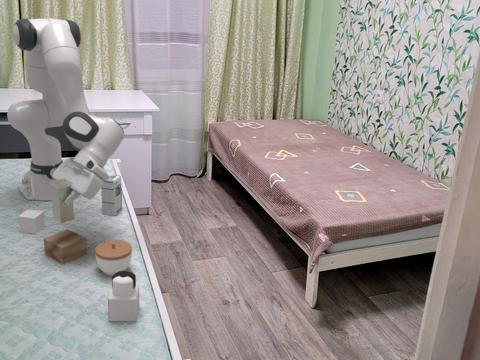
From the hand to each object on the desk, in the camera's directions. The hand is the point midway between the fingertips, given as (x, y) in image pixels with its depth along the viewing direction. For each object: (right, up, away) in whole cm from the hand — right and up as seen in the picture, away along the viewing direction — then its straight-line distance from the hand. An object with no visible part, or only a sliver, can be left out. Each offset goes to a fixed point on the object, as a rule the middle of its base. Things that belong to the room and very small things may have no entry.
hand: (60, 200), depth 150 cm
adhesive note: (-18, -11, +22) cm, 30 cm away
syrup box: (+6, -6, +39) cm, 40 cm away
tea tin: (0, -6, +3) cm, 6 cm away
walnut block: (-1, -18, +7) cm, 19 cm away
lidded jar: (+16, -22, 0) cm, 27 cm away
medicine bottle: (+24, -30, -19) cm, 43 cm away
